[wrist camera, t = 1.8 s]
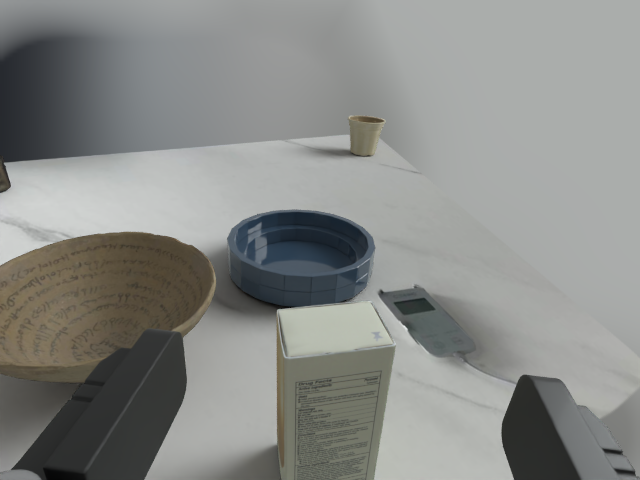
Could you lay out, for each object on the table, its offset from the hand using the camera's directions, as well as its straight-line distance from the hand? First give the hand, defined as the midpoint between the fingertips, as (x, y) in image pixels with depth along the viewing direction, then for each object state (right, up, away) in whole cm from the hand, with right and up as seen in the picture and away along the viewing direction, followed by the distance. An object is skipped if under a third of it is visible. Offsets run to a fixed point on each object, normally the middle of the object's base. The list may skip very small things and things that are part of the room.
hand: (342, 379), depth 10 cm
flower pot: (+11, +26, +96) cm, 100 cm away
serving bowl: (-3, 0, +42) cm, 42 cm away
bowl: (-19, -7, +27) cm, 33 cm away
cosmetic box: (0, -12, +19) cm, 23 cm away
